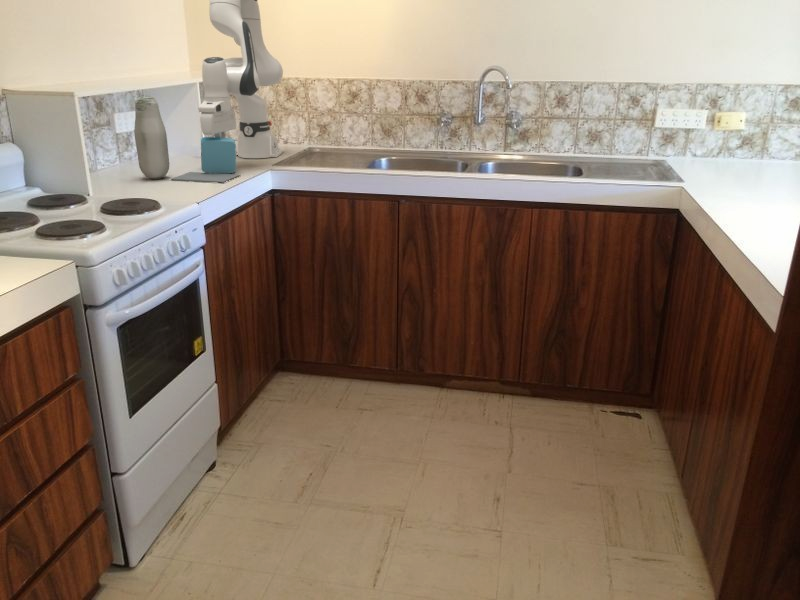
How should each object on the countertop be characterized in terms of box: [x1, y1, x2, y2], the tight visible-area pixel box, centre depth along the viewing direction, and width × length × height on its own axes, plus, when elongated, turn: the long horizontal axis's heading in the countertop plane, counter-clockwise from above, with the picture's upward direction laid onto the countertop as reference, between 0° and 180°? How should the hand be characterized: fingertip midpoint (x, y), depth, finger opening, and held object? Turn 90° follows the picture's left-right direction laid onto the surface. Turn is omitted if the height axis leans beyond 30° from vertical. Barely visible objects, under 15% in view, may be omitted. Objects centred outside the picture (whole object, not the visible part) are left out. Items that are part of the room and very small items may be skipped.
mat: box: [170, 171, 241, 184], centre depth 238 cm, size 13×20×1 cm, turn 77°
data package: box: [200, 136, 237, 174], centre depth 243 cm, size 12×4×12 cm, turn 106°
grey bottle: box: [133, 95, 170, 180], centre depth 232 cm, size 10×10×28 cm
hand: (221, 144), depth 246 cm, fingers closed
